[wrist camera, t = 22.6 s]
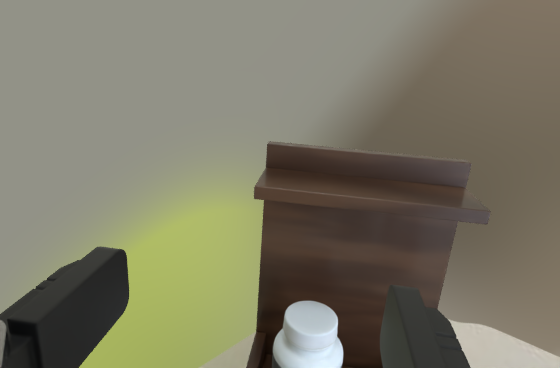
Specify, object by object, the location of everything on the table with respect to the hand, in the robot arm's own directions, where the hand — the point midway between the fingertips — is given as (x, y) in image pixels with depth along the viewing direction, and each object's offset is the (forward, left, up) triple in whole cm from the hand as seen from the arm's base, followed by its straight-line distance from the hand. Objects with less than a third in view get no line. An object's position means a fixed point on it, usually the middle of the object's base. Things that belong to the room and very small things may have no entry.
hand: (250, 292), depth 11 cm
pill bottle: (-3, +14, -21) cm, 26 cm away
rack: (0, +16, -30) cm, 34 cm away
